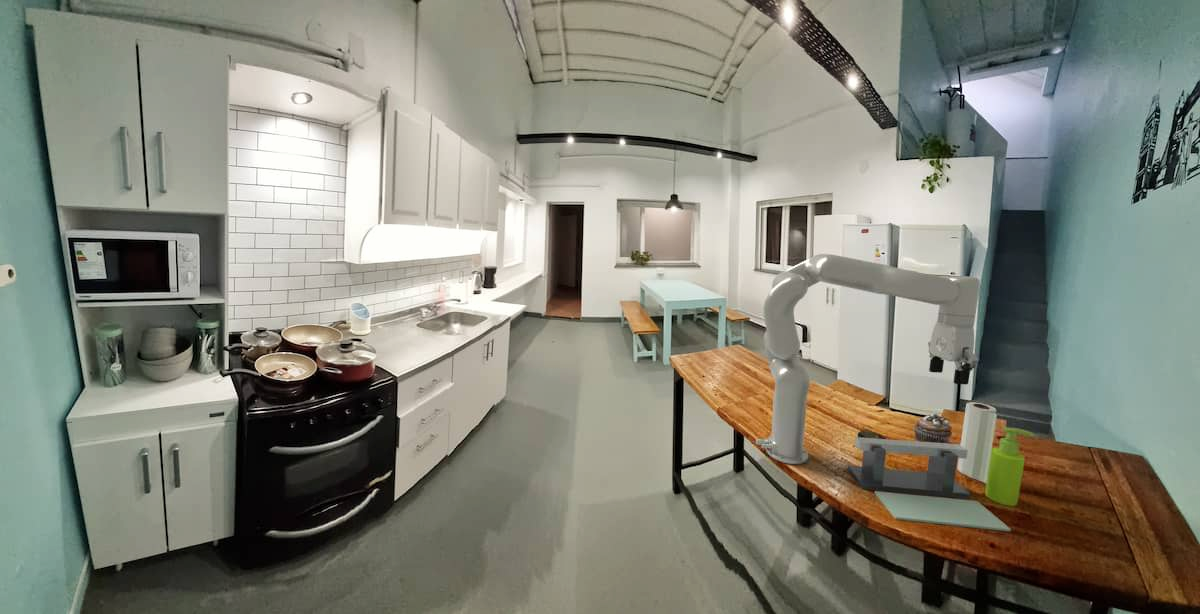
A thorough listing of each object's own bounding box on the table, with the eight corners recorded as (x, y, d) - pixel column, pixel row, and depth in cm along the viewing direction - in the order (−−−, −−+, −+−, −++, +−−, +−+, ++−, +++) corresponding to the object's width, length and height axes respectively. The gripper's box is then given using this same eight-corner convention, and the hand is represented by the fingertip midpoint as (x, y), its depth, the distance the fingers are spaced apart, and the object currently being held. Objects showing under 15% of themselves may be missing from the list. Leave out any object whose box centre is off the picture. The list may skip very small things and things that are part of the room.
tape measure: (886, 446, 124) (887, 436, 124) (872, 450, 122) (873, 440, 122) (866, 437, 131) (867, 427, 130) (852, 440, 129) (853, 430, 128)
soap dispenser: (1027, 510, 94) (1039, 437, 90) (989, 501, 97) (1000, 431, 94) (1017, 496, 98) (1029, 427, 95) (981, 488, 102) (991, 421, 99)
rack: (861, 488, 103) (865, 451, 102) (847, 469, 112) (850, 435, 110) (970, 499, 98) (976, 459, 96) (946, 478, 107) (951, 442, 105)
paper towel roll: (957, 465, 113) (966, 399, 110) (985, 473, 109) (996, 405, 105) (956, 475, 108) (966, 407, 105) (986, 484, 104) (997, 413, 100)
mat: (895, 519, 92) (895, 516, 92) (874, 493, 101) (874, 491, 101) (1010, 531, 87) (1010, 529, 87) (976, 503, 97) (977, 501, 96)
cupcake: (923, 433, 132) (926, 407, 130) (956, 447, 123) (960, 419, 121) (905, 438, 129) (908, 412, 127) (937, 452, 120) (941, 424, 118)
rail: (859, 450, 105) (860, 442, 104) (854, 444, 108) (855, 437, 107) (966, 458, 99) (967, 450, 99) (958, 452, 102) (959, 444, 102)
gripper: (920, 314, 112) (913, 367, 115) (964, 326, 96) (955, 388, 98) (948, 314, 111) (940, 368, 114) (998, 326, 94) (988, 389, 97)
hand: (947, 377), depth 106 cm, fingers open, 9 cm apart
